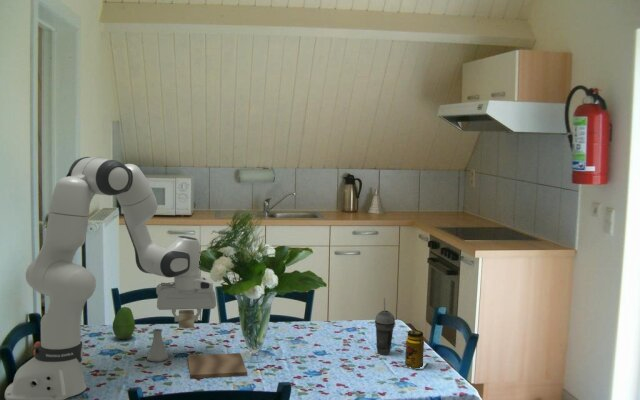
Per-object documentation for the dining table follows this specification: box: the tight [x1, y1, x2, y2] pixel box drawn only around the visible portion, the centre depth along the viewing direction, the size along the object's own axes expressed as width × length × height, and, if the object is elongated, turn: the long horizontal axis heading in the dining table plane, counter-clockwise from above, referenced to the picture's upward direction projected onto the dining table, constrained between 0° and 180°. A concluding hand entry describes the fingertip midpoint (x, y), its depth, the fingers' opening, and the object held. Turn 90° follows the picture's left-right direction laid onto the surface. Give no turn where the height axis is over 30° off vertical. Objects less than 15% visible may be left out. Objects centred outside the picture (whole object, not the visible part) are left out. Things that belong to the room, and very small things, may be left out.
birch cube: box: [178, 309, 195, 329], centre depth 240 cm, size 5×5×5 cm
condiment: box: [404, 329, 425, 368], centre depth 235 cm, size 7×8×12 cm
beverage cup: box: [374, 297, 396, 356], centre depth 246 cm, size 7×7×20 cm
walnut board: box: [187, 352, 248, 380], centre depth 228 cm, size 18×18×1 cm
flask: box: [146, 328, 169, 362], centre depth 234 cm, size 7×7×10 cm
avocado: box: [112, 306, 136, 340], centre depth 253 cm, size 8×8×12 cm
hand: (186, 321), depth 240 cm, fingers closed on birch cube, 5 cm apart
